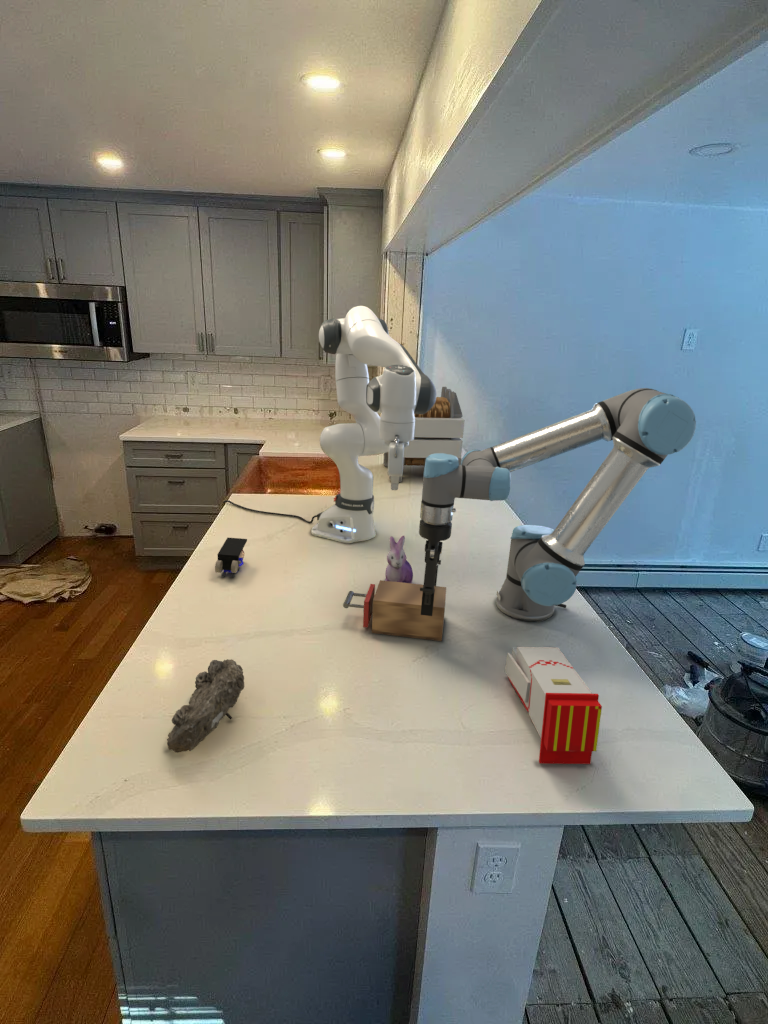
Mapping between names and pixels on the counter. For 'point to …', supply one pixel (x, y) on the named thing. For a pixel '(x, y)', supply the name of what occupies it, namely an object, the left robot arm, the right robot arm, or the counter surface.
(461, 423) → the transformer
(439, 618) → the cabinet
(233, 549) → the figurine character
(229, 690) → the fossil
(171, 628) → the counter surface
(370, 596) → the drawer
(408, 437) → the left robot arm
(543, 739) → the toy
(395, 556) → the figurine
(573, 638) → the counter surface
